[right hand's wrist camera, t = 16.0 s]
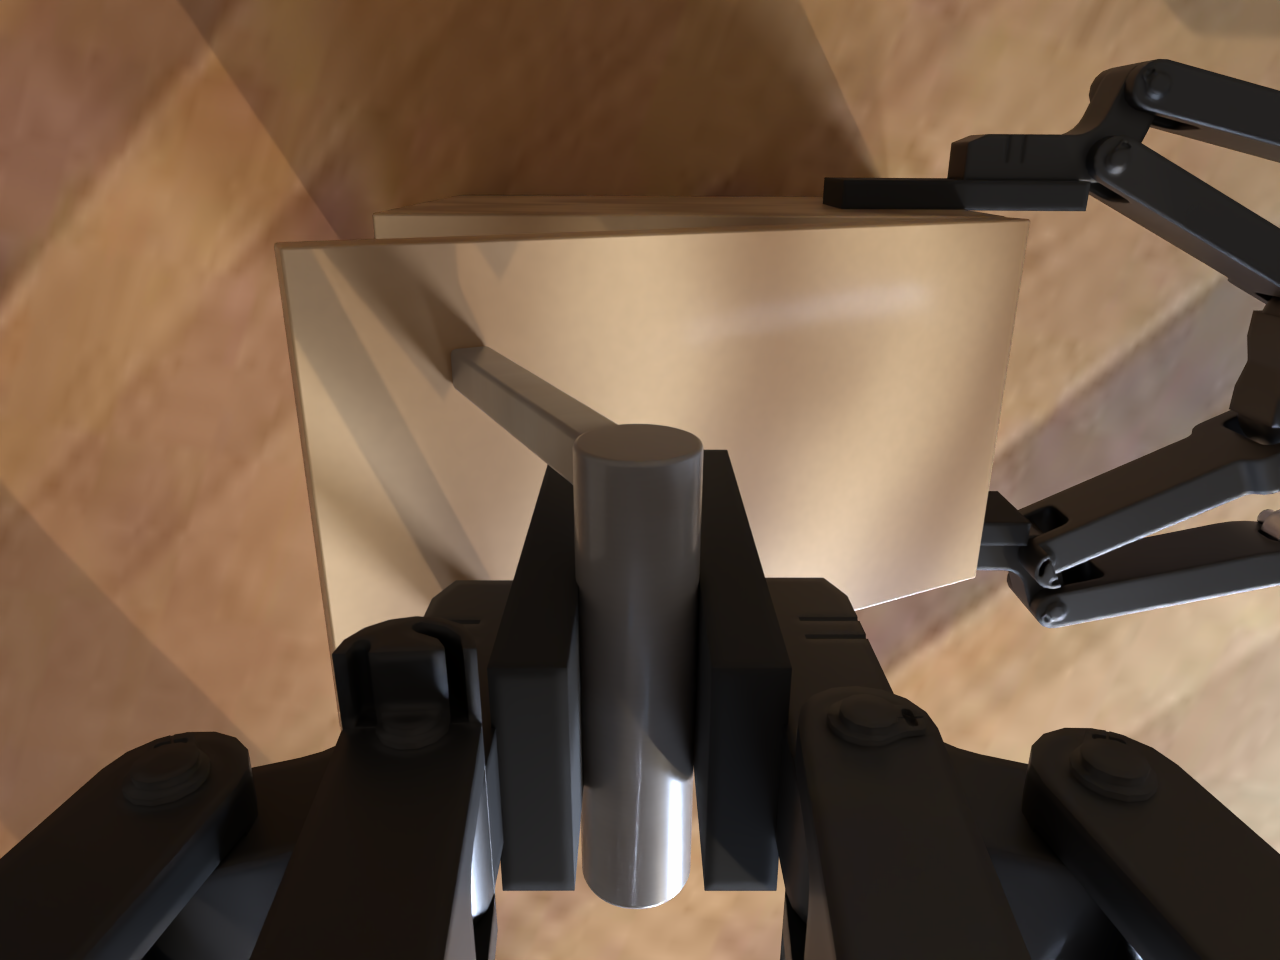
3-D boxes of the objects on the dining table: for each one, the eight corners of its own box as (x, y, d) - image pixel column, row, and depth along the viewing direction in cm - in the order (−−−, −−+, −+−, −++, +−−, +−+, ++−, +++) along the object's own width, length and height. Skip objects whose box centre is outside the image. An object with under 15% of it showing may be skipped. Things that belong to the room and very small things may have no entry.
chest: (475, 442, 34) (405, 559, 24) (459, 195, 30) (371, 212, 21) (866, 444, 34) (956, 563, 24) (891, 197, 30) (1007, 216, 21)
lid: (339, 726, 17) (450, 1095, 10) (272, 242, 14) (373, 325, 7) (950, 564, 24) (1254, 724, 17) (1000, 216, 21) (1396, 247, 14)
